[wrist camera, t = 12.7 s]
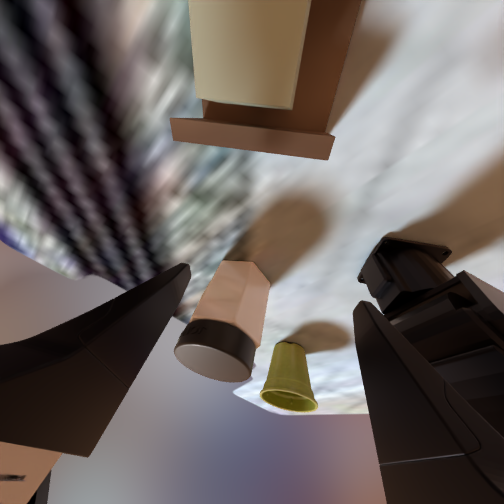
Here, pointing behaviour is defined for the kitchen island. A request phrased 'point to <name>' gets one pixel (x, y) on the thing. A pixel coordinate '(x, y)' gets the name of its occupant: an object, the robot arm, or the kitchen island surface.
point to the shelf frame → (305, 101)
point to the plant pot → (289, 380)
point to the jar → (226, 324)
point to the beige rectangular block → (248, 50)
